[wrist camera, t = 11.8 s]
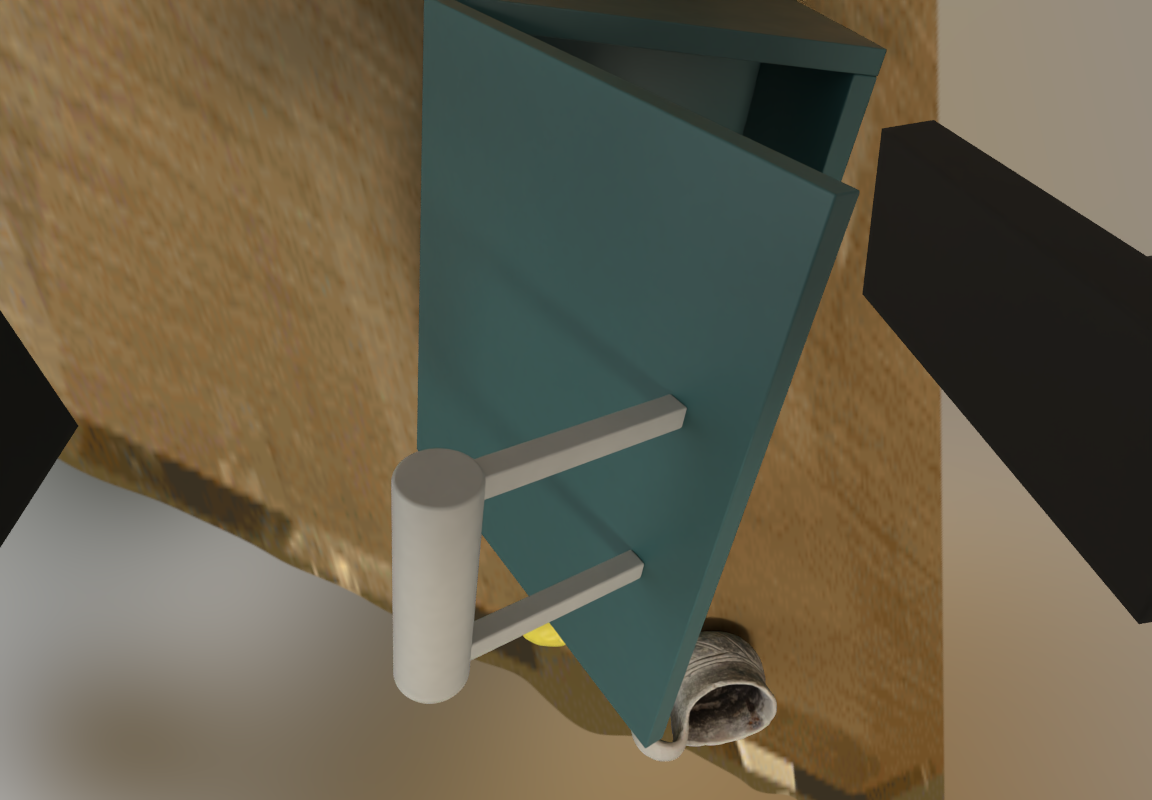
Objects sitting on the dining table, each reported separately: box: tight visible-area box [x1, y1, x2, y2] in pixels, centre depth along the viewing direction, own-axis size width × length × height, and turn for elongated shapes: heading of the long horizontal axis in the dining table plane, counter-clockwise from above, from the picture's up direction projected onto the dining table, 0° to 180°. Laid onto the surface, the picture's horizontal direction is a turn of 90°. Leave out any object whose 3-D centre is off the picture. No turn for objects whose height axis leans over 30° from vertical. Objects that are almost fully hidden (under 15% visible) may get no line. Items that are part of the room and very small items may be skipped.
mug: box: [632, 631, 777, 761], centre depth 66 cm, size 10×12×10 cm
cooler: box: [456, 0, 886, 182], centre depth 38 cm, size 17×20×11 cm
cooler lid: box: [391, 0, 859, 748], centre depth 24 cm, size 18×20×9 cm
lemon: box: [523, 623, 566, 647], centre depth 62 cm, size 4×8×4 cm, turn 98°
